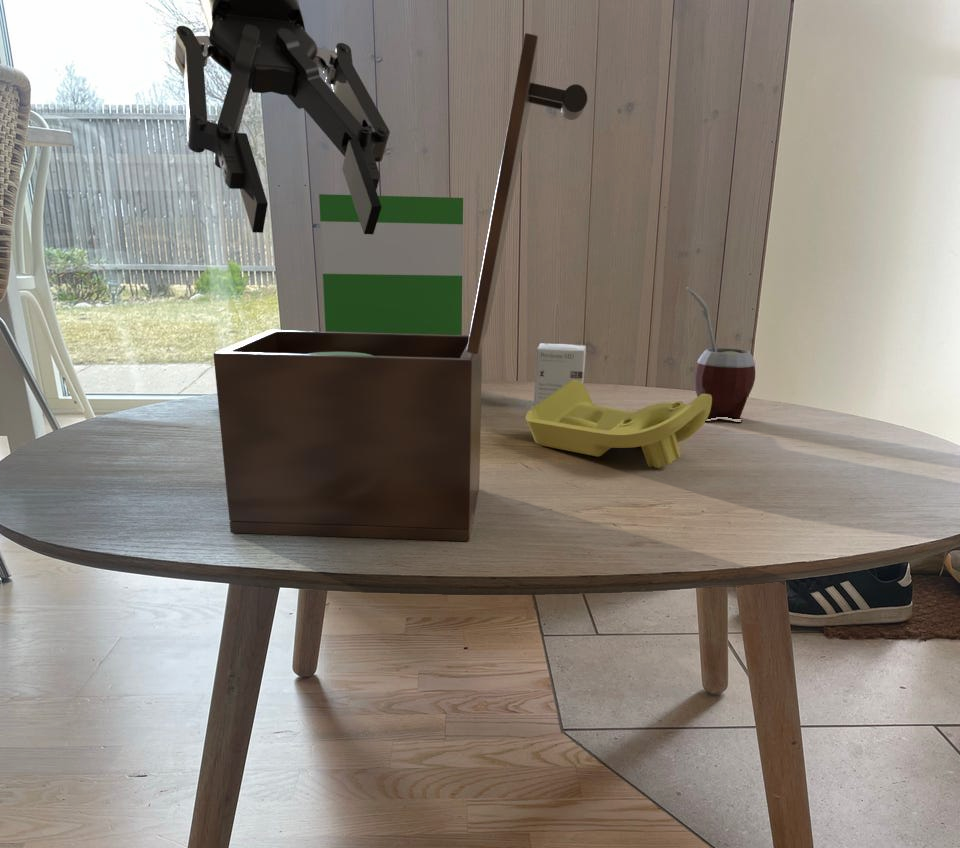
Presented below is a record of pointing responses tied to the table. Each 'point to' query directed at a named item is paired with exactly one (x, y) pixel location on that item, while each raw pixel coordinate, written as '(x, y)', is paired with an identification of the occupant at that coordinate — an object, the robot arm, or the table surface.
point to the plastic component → (615, 424)
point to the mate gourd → (723, 374)
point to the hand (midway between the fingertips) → (317, 219)
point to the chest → (351, 434)
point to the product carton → (557, 368)
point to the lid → (515, 173)
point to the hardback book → (393, 266)
